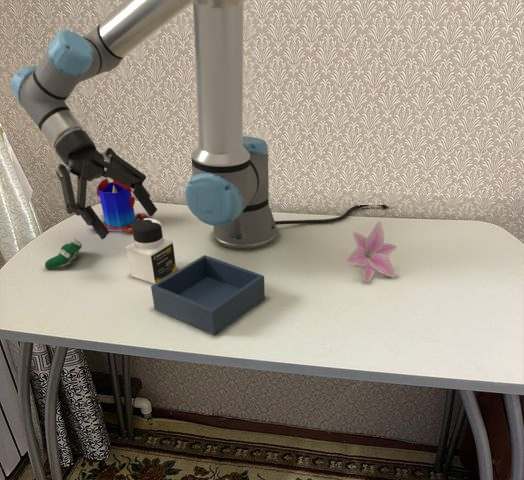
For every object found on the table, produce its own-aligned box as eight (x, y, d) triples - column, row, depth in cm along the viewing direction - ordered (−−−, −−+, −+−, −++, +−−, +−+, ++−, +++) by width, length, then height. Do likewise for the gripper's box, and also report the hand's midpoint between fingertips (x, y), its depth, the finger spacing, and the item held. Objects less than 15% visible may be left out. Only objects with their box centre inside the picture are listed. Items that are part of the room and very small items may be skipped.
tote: (206, 276, 121) (204, 254, 118) (264, 298, 113) (264, 275, 110) (154, 309, 111) (150, 286, 108) (214, 335, 103) (212, 311, 100)
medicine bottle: (155, 285, 118) (147, 232, 111) (130, 276, 122) (121, 225, 114) (177, 270, 123) (170, 219, 116) (152, 262, 126) (144, 212, 119)
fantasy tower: (90, 232, 140) (79, 185, 133) (107, 213, 149) (98, 168, 142) (135, 234, 138) (127, 187, 131) (149, 214, 148) (143, 169, 140)
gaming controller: (55, 277, 126) (69, 262, 122) (41, 266, 124) (54, 250, 121) (74, 258, 133) (87, 243, 129) (61, 247, 132) (74, 232, 128)
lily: (333, 285, 119) (352, 258, 111) (335, 242, 125) (352, 213, 116) (385, 298, 121) (407, 272, 113) (384, 255, 127) (405, 228, 119)
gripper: (109, 135, 128) (165, 213, 129) (13, 167, 112) (77, 254, 114) (121, 114, 122) (179, 195, 124) (21, 144, 106) (89, 237, 108)
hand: (130, 224), depth 119 cm, fingers open, 13 cm apart
